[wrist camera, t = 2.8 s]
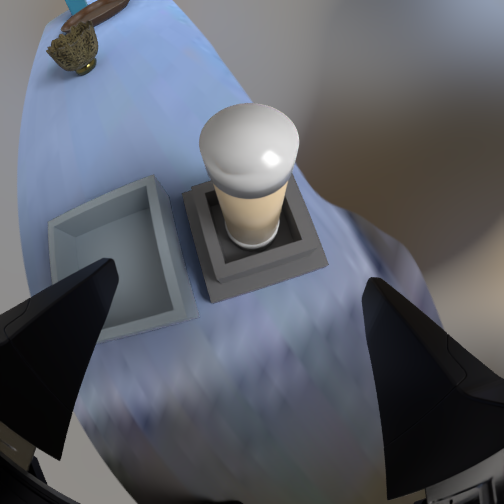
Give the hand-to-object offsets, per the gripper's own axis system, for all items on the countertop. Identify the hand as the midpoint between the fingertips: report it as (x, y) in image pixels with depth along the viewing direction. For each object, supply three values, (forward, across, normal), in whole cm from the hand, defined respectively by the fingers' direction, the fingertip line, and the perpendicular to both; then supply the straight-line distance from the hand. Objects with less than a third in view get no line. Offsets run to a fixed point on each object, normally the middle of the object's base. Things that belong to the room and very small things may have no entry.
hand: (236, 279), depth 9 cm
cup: (+30, +27, -13) cm, 42 cm away
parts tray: (+9, +10, +7) cm, 15 cm away
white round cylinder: (+11, 0, +4) cm, 12 cm away
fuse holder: (+12, 0, +4) cm, 13 cm away
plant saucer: (+47, +38, -30) cm, 68 cm away
